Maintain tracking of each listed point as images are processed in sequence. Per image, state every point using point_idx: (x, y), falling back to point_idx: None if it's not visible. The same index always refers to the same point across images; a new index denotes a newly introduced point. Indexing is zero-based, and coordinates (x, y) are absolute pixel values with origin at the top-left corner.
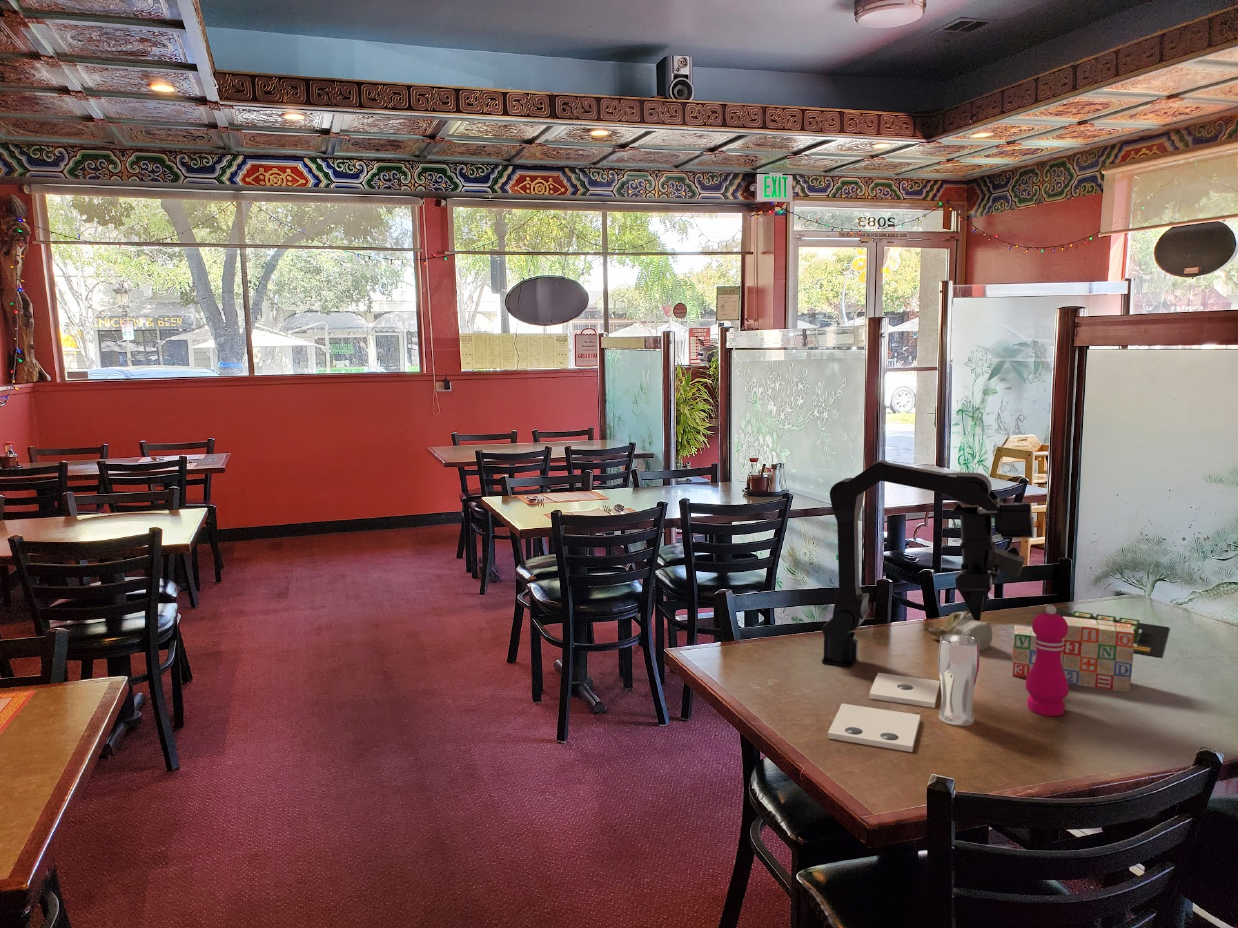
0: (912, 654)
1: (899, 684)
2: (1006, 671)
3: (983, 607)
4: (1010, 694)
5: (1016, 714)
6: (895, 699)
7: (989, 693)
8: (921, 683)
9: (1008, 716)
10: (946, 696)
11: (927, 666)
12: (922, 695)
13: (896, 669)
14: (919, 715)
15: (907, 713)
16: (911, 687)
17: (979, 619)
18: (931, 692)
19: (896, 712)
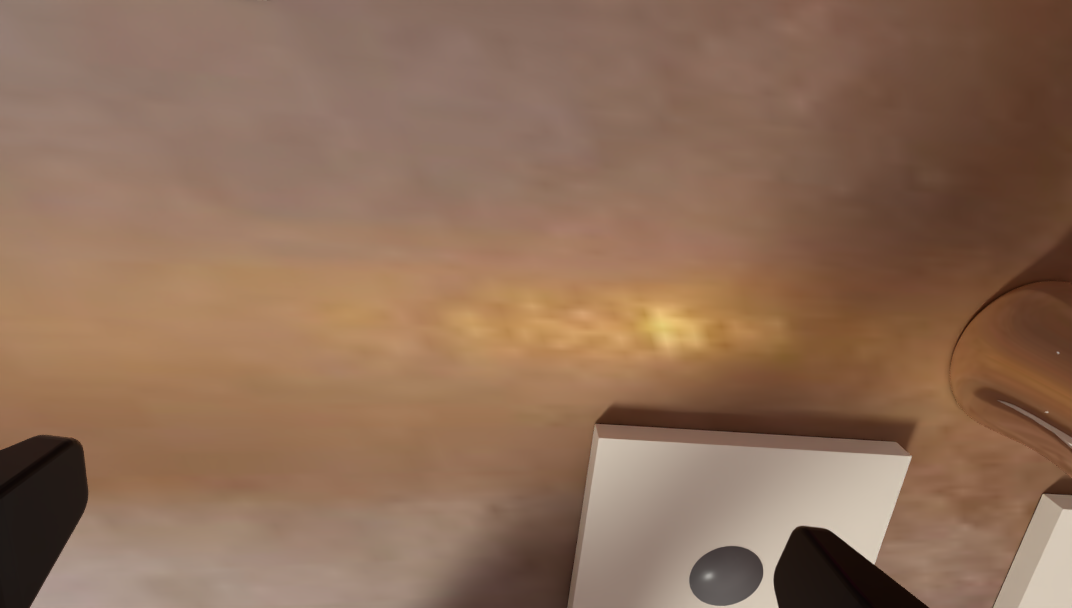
0: (133, 550)
1: (695, 597)
2: (188, 32)
3: (78, 469)
4: (633, 53)
5: (948, 52)
6: None
7: (646, 178)
8: (659, 515)
9: (979, 102)
10: None
11: (306, 479)
12: (824, 506)
13: (416, 603)
14: (1067, 511)
15: (1046, 553)
16: (727, 552)
17: (833, 540)
18: (778, 472)
19: (1036, 590)
